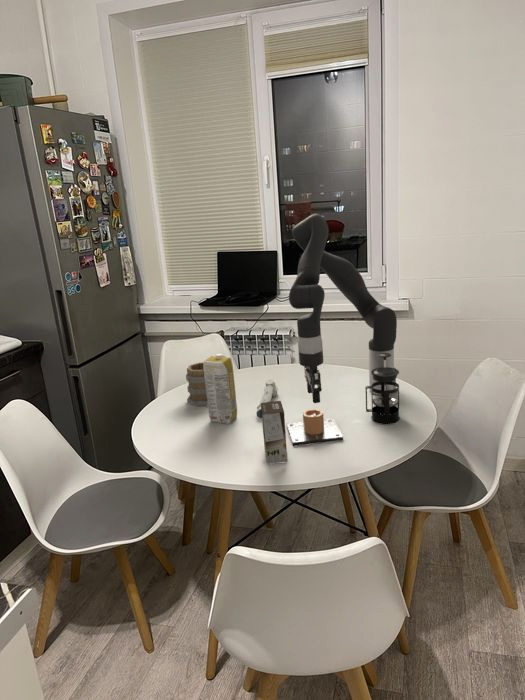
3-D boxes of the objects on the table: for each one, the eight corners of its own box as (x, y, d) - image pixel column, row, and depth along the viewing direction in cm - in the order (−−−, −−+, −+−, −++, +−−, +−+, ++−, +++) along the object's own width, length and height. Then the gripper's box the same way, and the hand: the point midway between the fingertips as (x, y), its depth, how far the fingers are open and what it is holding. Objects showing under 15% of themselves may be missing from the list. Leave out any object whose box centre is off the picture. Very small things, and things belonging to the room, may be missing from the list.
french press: (399, 412, 180) (399, 349, 173) (403, 424, 171) (403, 357, 164) (365, 413, 181) (363, 350, 174) (367, 425, 172) (365, 359, 166)
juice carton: (240, 416, 187) (234, 352, 180) (230, 425, 180) (223, 360, 173) (217, 413, 191) (210, 351, 184) (206, 422, 184) (199, 358, 177)
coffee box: (288, 462, 153) (284, 412, 148) (266, 464, 152) (262, 414, 148) (284, 447, 162) (281, 400, 157) (264, 450, 161) (259, 402, 157)
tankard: (199, 408, 197) (195, 371, 192) (182, 400, 206) (177, 364, 202) (241, 393, 208) (238, 358, 204) (223, 386, 218) (220, 352, 213)
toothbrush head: (253, 409, 183) (264, 375, 205) (255, 425, 186) (266, 390, 208) (268, 409, 182) (277, 375, 204) (270, 425, 185) (279, 390, 207)
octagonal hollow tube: (302, 427, 172) (301, 408, 170) (321, 424, 172) (320, 406, 170) (306, 435, 166) (305, 416, 164) (325, 433, 166) (324, 414, 164)
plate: (333, 421, 177) (332, 404, 175) (343, 440, 163) (342, 422, 161) (286, 427, 176) (285, 410, 174) (292, 446, 162) (291, 427, 160)
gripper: (294, 344, 167) (298, 391, 172) (302, 357, 154) (306, 407, 158) (317, 341, 168) (320, 388, 172) (327, 354, 154) (330, 404, 159)
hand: (313, 397), depth 165 cm, fingers open, 8 cm apart
